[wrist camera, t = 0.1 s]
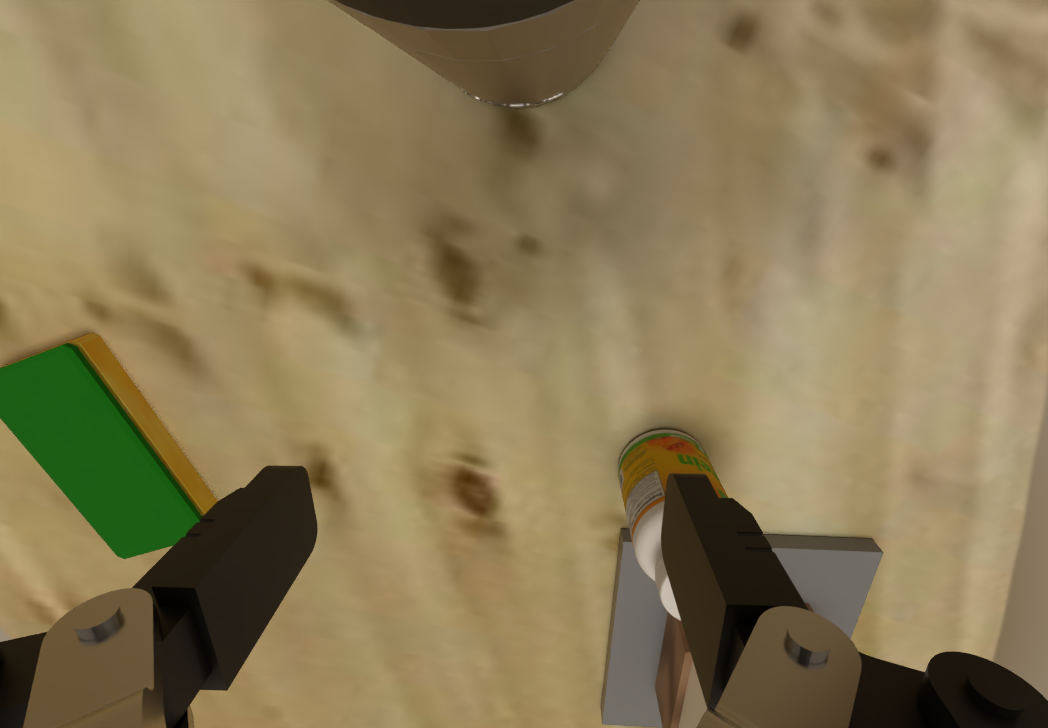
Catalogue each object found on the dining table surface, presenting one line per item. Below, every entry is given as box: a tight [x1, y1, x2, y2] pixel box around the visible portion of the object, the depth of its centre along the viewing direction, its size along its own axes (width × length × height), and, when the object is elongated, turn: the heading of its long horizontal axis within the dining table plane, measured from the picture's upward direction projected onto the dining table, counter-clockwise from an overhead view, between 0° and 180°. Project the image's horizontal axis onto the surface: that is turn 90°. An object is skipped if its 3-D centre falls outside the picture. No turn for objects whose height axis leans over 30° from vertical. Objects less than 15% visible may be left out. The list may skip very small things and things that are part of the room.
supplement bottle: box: [618, 430, 728, 620], centre depth 27 cm, size 5×5×10 cm
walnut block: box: [655, 603, 813, 728], centre depth 33 cm, size 9×9×4 cm
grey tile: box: [601, 529, 883, 728], centre depth 36 cm, size 18×16×1 cm
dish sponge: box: [0, 333, 218, 559], centre depth 31 cm, size 7×14×2 cm, turn 19°
